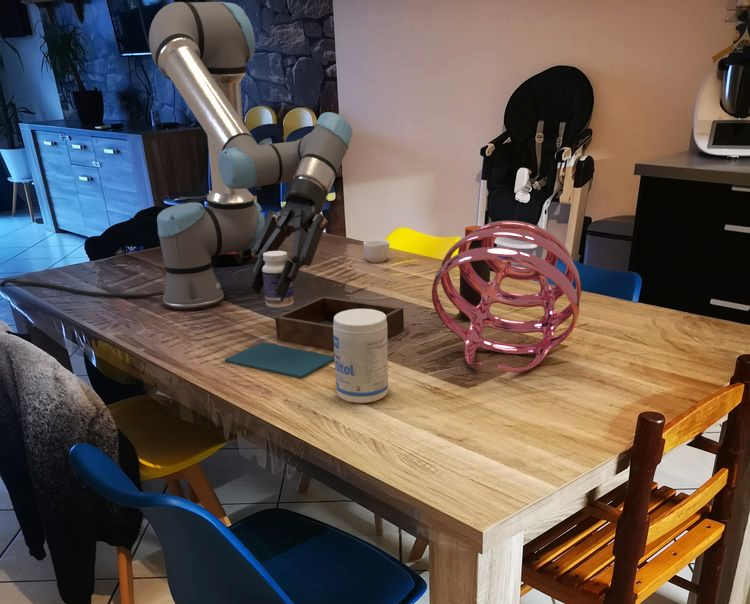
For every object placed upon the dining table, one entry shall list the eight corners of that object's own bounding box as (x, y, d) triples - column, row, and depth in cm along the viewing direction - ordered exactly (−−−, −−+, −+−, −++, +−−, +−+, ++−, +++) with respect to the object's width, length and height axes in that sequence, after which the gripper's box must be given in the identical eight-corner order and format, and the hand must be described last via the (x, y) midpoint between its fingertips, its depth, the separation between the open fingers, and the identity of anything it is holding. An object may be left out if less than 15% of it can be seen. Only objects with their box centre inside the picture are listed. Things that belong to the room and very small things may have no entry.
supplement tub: (326, 396, 137) (320, 318, 130) (360, 380, 143) (356, 304, 136) (365, 409, 132) (362, 328, 124) (399, 392, 138) (398, 313, 130)
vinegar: (453, 318, 174) (454, 228, 164) (470, 311, 178) (473, 223, 168) (476, 323, 170) (479, 232, 160) (494, 316, 174) (498, 227, 164)
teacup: (395, 260, 223) (394, 242, 220) (374, 265, 219) (374, 246, 217) (374, 255, 230) (374, 237, 227) (354, 259, 226) (353, 241, 223)
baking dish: (212, 262, 238) (202, 230, 233) (265, 253, 235) (256, 220, 229) (198, 277, 227) (187, 244, 221) (253, 268, 223) (244, 234, 217)
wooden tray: (277, 339, 166) (274, 317, 163) (324, 316, 179) (323, 296, 176) (359, 355, 155) (358, 331, 153) (403, 330, 168) (403, 308, 166)
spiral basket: (532, 297, 119) (567, 173, 129) (387, 317, 135) (428, 205, 145) (584, 397, 139) (611, 283, 149) (453, 403, 155) (485, 300, 165)
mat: (224, 361, 155) (224, 359, 155) (262, 344, 164) (261, 341, 163) (301, 378, 145) (301, 376, 145) (336, 358, 154) (336, 356, 154)
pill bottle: (289, 308, 147) (284, 256, 141) (262, 308, 148) (255, 256, 143) (297, 300, 151) (293, 249, 146) (271, 299, 152) (265, 249, 147)
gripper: (357, 203, 147) (314, 308, 144) (282, 198, 156) (240, 296, 153) (340, 178, 141) (295, 287, 137) (263, 174, 150) (219, 276, 146)
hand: (266, 291), depth 145 cm, fingers closed on pill bottle, 6 cm apart
